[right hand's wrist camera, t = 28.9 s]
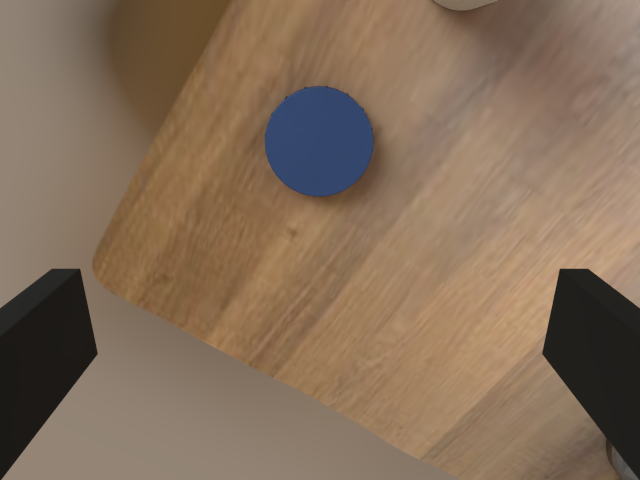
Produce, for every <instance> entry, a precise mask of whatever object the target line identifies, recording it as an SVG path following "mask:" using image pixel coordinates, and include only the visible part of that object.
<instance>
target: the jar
mask: <svg viewBox="0 0 640 480" xmlns="http://www.w3.org/2000/svg"><path fill="white" fill-rule="evenodd" d="M433 1H435V2H436V3H437V4H439V5H441V6H443V7H445V8H448V9H452V10H458V11H464V10H471V9H475V8H478V7H481V6H484V5H487V4H489V3H492V2H495V1H498V0H433Z"/></svg>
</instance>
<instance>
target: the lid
mask: <svg viewBox="0 0 640 480" xmlns="http://www.w3.org/2000/svg"><path fill="white" fill-rule="evenodd" d="M363 110H364V109H363V108H361V107H360V106H359V105H358V104H357V102H356V101H355V100H353V99H352V98H351V97H350V96H349V95H348V94H347V93H346V94H345V93H344V92H342V91H339V90H337V89H334V88H331V87H328V86H326V87H325V86H314V87H308V88H306V87H305V88H304V89H301V90H299V91H296V92H295V93H293V94H291V95H290V96H288V97H286V98H285V100H284V101H283V102H282V103H281V104H280V105H279V106H278V107H277V108H276V110H275V111H274V113H272V114H271V118H270V120H269V123H268V126H267V130H266V134H265V148H266V154H267V158H268V161H269V163H270V165H271V168H272V169H273V171H274V173H275V174H276V175H277V176H278V178H279V179H280V180H281V181H282V182H283V183H284V184H286V185H287V186H288V187H290V188H291V189H293V190H295V191H297V192H299V193H302V194H305V195H310V196H329V195H333V194H336V193H339V192H341V191H343V190H345V189H347V188H349V187H350V186H351V185H353V184H354V183H355V182H356V181H357V180H358V179H359V178H360V177H361V176H362V174H363V173H364V171H365V170H366V168H367V166H368V164H369V162H370V158H371V155H372V152H373V134H372V128H371V125H370V122H369V120H368V118H367V116H366V114H365V112H364V111H363Z"/></svg>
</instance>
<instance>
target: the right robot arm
mask: <svg viewBox="0 0 640 480" xmlns="http://www.w3.org/2000/svg"><path fill="white" fill-rule="evenodd" d="M97 354H98V353H97V348H96V343H95V338H94V334H93V329H92V324H91V319H90V314H89V310H88V305H87V300H86V295H85V290H84V286H83V281H82V276H81V271H80V269H51V270H50V271H49V272H47V273H46V274H45V275H43V276H42V277H41V278H39V279H38V280H37V281H35V282H34V283H33V284H32V285H30V286H29V287H28V288H26V289H25V290H24V291H22V292H21V293H20V294H18V295H17V296H16V297H15V298H13V299H12V300H11V301H9V302H8V303H7V304H5V305H4V306H3V307H1V308H0V480H1V479H2V478H3V477H4V475H5V474H6V473H7V471H8V470H9V469H10V468H11V466H12V465H13V464H14V462H15V461H16V460H17V458H18V457H19V456H20V455H21V453H22V452H23V451H24V449H25V448H26V447H27V445H28V444H29V443H30V441H31V440H32V439H33V438H34V436H35V435H36V434H37V432H38V431H39V430H40V428H41V427H42V426H43V424H44V423H45V422H46V421H47V419H48V418H49V417H50V415H51V414H52V413H53V411H54V410H55V409H56V408H57V406H58V405H59V404H60V402H61V401H62V400H63V398H64V397H65V396H66V395H67V393H68V392H69V391H70V389H71V388H72V387H73V385H74V384H75V383H76V381H77V380H78V379H79V378H80V376H81V375H82V374H83V372H84V371H85V370H86V368H87V367H88V366H89V364H90V363H91V362H92V361H93V359H94V358H95V357H96V355H97ZM542 354H543V355H544V357H545V358H546V359H547V361H548V362H549V363H550V365H551V366H552V367H553V368H554V370H555V371H556V372H557V374H558V375H559V376H560V378H561V379H562V380H563V381H564V383H565V384H566V385H567V387H568V388H569V389H570V391H571V392H572V393H573V395H574V396H575V397H576V398H577V400H578V401H579V402H580V404H581V405H582V406H583V408H584V409H585V410H586V411H587V413H588V414H589V415H590V417H591V418H592V419H593V421H594V422H595V423H596V425H597V426H598V427H599V428H600V430H601V431H602V432H603V434H604V435H605V436H606V438H607V442H606V451H607V456H608V459H609V461H610V463H611V465H612V466H613V467H614V469H615V470H616V471H617V473H618V474H619V476H620V477H621V478H622V479H623V480H640V308H639V307H637V306H636V305H635V304H633V303H632V302H631V301H629V300H628V299H627V298H625V297H624V296H623V295H622V294H620V293H619V292H618V291H616V290H615V289H614V288H612V287H611V286H610V285H608V284H607V283H606V282H605V281H603V280H602V279H601V278H599V277H598V276H597V275H595V274H594V273H593V272H591V271H590V270H589V269H560V271H559V276H558V281H557V286H556V290H555V295H554V300H553V305H552V310H551V314H550V319H549V324H548V329H547V334H546V338H545V343H544V348H543V353H542Z"/></svg>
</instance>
